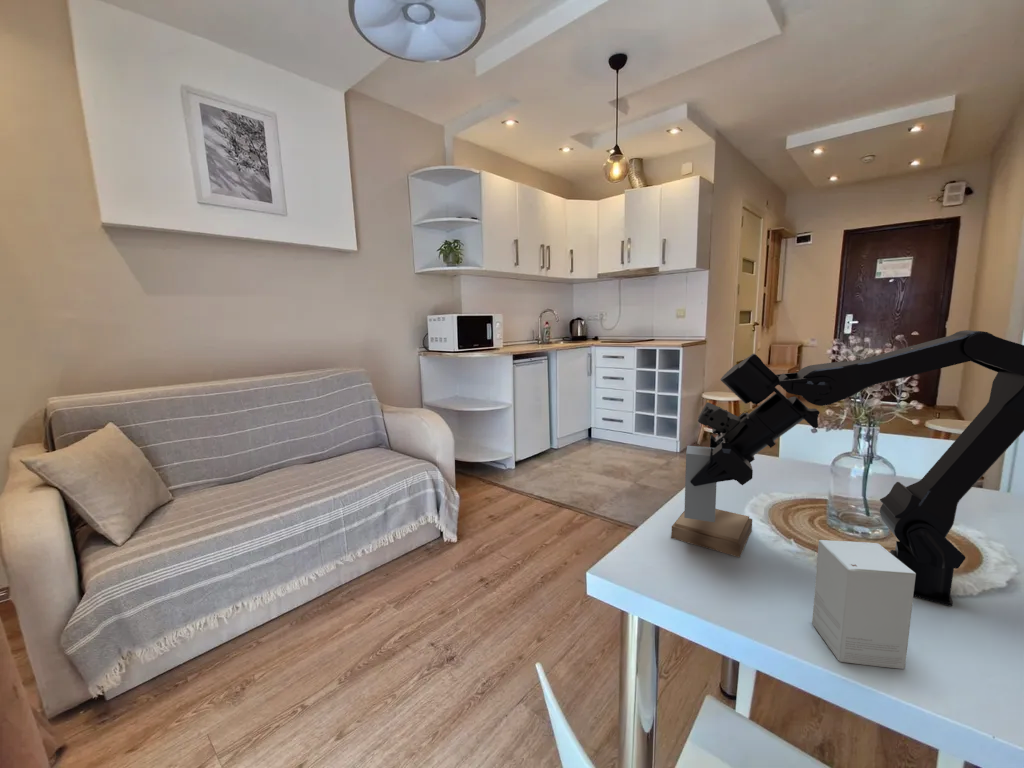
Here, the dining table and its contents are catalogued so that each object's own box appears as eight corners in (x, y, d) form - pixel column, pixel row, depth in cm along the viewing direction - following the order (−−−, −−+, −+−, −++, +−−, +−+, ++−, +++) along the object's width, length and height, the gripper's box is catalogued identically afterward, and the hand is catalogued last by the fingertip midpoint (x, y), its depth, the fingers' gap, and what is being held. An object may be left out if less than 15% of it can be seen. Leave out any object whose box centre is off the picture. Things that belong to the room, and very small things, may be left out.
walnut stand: (751, 530, 86) (752, 516, 86) (739, 557, 77) (740, 541, 76) (689, 514, 93) (689, 501, 93) (671, 537, 84) (671, 523, 84)
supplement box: (907, 671, 52) (919, 574, 50) (837, 663, 53) (846, 568, 51) (870, 628, 59) (879, 541, 57) (809, 621, 61) (816, 537, 59)
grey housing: (714, 510, 80) (717, 448, 78) (715, 522, 76) (717, 456, 74) (685, 506, 82) (687, 445, 80) (684, 517, 78) (686, 453, 76)
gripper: (727, 381, 82) (665, 432, 88) (731, 398, 65) (654, 461, 72) (773, 424, 80) (706, 474, 86) (789, 453, 63) (704, 513, 70)
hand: (692, 478), depth 79 cm, fingers closed on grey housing, 5 cm apart
